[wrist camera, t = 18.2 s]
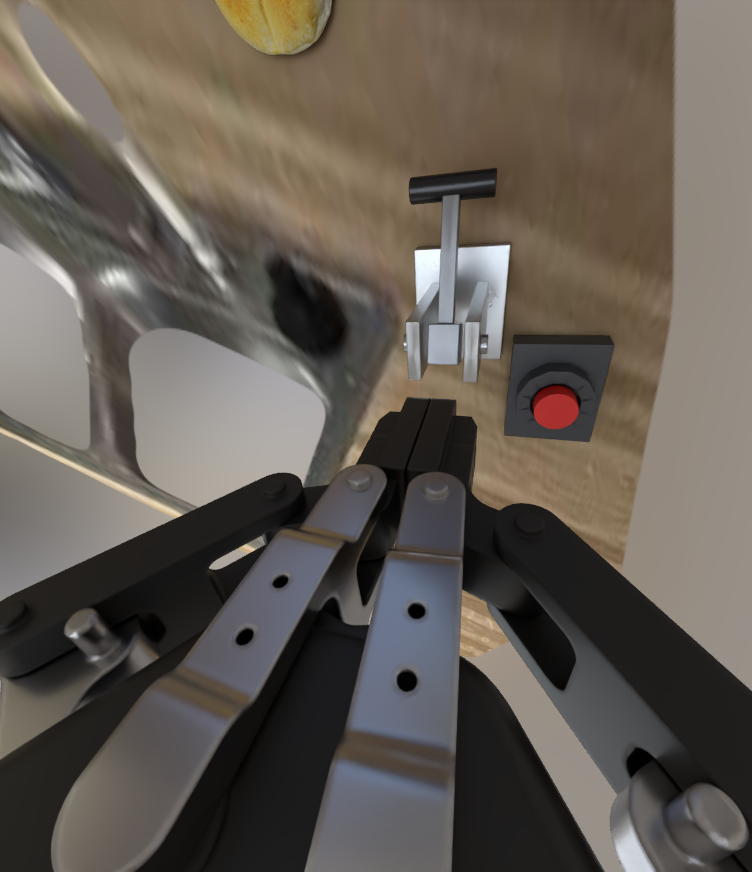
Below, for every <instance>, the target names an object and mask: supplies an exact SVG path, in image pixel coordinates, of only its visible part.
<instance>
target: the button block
mask: <svg viewBox="0 0 752 872" xmlns="http://www.w3.org/2000/svg"><path fill="white" fill-rule="evenodd" d="M613 349H614V343H613V342H612V340H611V338H610V336H557V335H514V339H513V349H512V358H511V368H510V377H509V387H508V396H507V406H506V415H505V425H504V435H506V436H519V437H531V438H544V439H557V440H570V441H582V442H589V441H590V438H591V434H592V430H593V426H594V422H595V418H596V414H597V411H598V407H599V403H600V399H601V395H602V391H603V387H604V384H605V380H606V376H607V372H608V368H609V364H610V360H611V357H612V353H613ZM553 385H561V386H565V387H567V388H569V389H571V390H572V391H573V392H574V394H575V396H576V399H577V403H578V407H579V413H578V416H577V418H576V419H575V421H574V422H573V423H572V424H570V425H568V426H567V427H564V428H560V429H549V428H546V427H543V426H542V425H540V424H539V423H538V422H537V421H536V419H535V417H534V409H533V401H534V398H535V396H536V395H537V393H538V392H539V391H541V390H542V389H544V388H546V387H548V386H553Z"/></svg>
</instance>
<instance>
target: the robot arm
mask: <svg viewBox="0 0 752 872" xmlns="http://www.w3.org/2000/svg"><path fill="white" fill-rule="evenodd" d="M476 439H477V425H476V424H475V422H474V420H473V419H472V417H468V416H456V400H451V399H433V398H432V400H431V399H430V398H413V397H407V399H406V401H405V403H404V405H403V408H402V410H401V412H391V411H390V412H389V413H388V414H386V415H385V416H384V417H382V418H381V419H380V420H379V422H378V423H377V425H376V427H375V429H374V431H373V433H372V435H371V437H370V439H369V441H368V442H367V444H366V446H365V448H364V450H363V452H362V454H361V456H360V458H359V460H358V462H357V463H356V465H353V466H349V467H347V468H345V469H343V470H342V471H340V472H339V473H338V474H337V475H336V476H335V478H334V479H333V480H332V482H331V483H330V484H329V485H324V486H315V487H307V488H303V486H302V482H301V480H300V479H299V478H298V477H297V476H296V475H294V474H291V473H276V474H272V475H269V476H266V477H264V478H261V479H259V480H257V481H255V482H253V483H251V484H249V485H247V486H245V487H242V488H240V489H238V490H236V491H234V492H231V493H229V494H227V495H225V496H223V497H221V498H219V499H217V500H214V501H212V502H210V503H208V504H206V505H204V506H201V507H199V508H197V509H195V510H193V511H191V512H189V513H186V514H184V515H182V516H180V517H178V518H176V519H174V520H171V521H169V522H167V523H165V524H163V525H161V526H158V527H156V528H154V529H152V530H150V531H148V532H146V533H143V534H141V535H139V536H137V537H135V538H133V539H131V540H129V541H126V542H124V543H122V544H120V545H118V546H116V547H113V548H111V549H109V550H107V551H105V552H103V553H101V554H98V555H96V556H94V557H92V558H90V559H88V560H86V561H83V562H81V563H79V564H77V565H75V566H73V567H71V568H68V569H66V570H64V571H62V572H60V573H58V574H55V575H53V576H51V577H49V578H47V579H45V580H43V581H41V582H38V583H36V584H34V585H32V586H30V587H28V588H25V589H24V590H21V591H19V592H17V593H15V594H13V595H11V596H9V597H7V598H5V599H4V600H2V601H0V680H1V692H0V872H605V871H604V870H603V868H602V866H601V865H600V863H599V861H598V859H597V857H596V856H595V854H594V852H593V850H592V849H591V847H590V845H589V843H588V842H587V840H586V838H585V836H584V835H583V833H582V831H581V829H580V828H579V826H578V824H577V822H576V821H575V819H574V817H573V815H572V814H571V812H570V810H569V808H568V807H567V805H566V803H565V802H564V800H563V798H562V796H561V794H560V793H559V791H558V789H557V787H556V786H555V784H554V782H553V780H552V779H551V777H550V775H549V773H548V772H547V770H546V769H545V766H544V765H543V763H542V761H541V760H540V758H539V756H538V754H537V752H536V751H535V749H534V747H533V745H532V744H531V742H530V740H529V738H528V737H527V735H526V733H525V731H524V730H523V728H522V726H521V724H520V723H519V721H518V719H517V717H516V716H515V714H514V712H513V711H512V709H511V707H510V706H509V704H508V702H507V701H506V700H505V698H504V697H503V695H502V694H501V693H500V691H499V690H498V689H497V687H496V686H495V685H494V684H493V683H492V682H491V681H490V680H489V679H488V677H486V675H485V674H484V673H482V672H481V671H480V670H479V669H478V668H477V667H476V666H475V665H473V664H472V663H470V662H469V661H467V660H466V659H465V658H463V657H462V656H460V629H461V603H462V590H464V591H466V592H468V593H470V594H472V595H474V596H476V597H478V598H480V599H482V600H483V601H485V602H486V603H487V607H488V610H489V612H490V613H491V615H492V617H493V618H494V619H495V621H496V622H497V624H498V625H499V627H500V628H501V629H502V631H503V632H504V634H505V635H506V637H507V638H508V639H509V641H510V642H511V644H512V645H513V647H514V648H515V649H516V651H517V652H518V653H519V655H520V657H521V658H522V659H523V661H524V662H525V664H526V665H527V667H528V668H529V669H530V671H531V672H532V674H533V675H534V676H535V678H536V679H537V681H538V682H539V684H540V685H541V687H542V688H543V689H544V691H545V692H546V694H547V695H548V697H549V698H550V699H551V701H552V702H553V704H554V705H555V707H556V708H557V709H558V711H559V712H560V714H561V715H562V717H563V718H564V719H565V721H566V722H567V724H568V725H569V726H570V728H571V729H572V731H573V732H574V734H575V735H576V737H577V738H578V739H579V741H580V742H581V744H582V745H583V747H584V748H585V749H586V751H587V752H588V754H589V755H590V757H591V758H592V759H593V761H594V762H595V764H596V765H597V767H598V768H599V769H600V771H601V772H602V774H603V775H604V777H605V778H606V779H607V781H608V782H609V784H610V785H611V787H612V788H613V789H614V791H615V792H616V794H617V797H616V798H615V800H614V802H613V804H612V807H611V813H610V831H611V837H612V841H613V844H614V848H615V851H616V854H617V856H618V859H619V861H620V863H621V865H622V867H623V869H624V871H625V872H752V691H751V690H750V689H749V688H748V687H746V686H745V685H744V684H743V683H742V682H741V681H740V680H739V679H737V678H736V677H735V676H734V675H733V674H732V673H731V672H730V671H729V670H727V669H726V668H725V667H724V666H723V665H722V664H720V663H719V662H718V661H717V660H716V659H715V658H714V657H713V656H712V655H711V654H710V653H708V652H707V651H706V650H705V649H704V648H703V647H702V646H701V645H699V644H698V643H697V642H696V641H695V640H694V639H693V638H692V637H691V636H689V635H688V634H687V633H686V632H685V631H684V630H683V629H681V628H680V627H679V626H678V625H677V624H676V623H675V622H674V621H673V620H672V619H670V618H669V617H668V616H667V615H666V614H665V613H664V612H663V611H661V610H660V609H659V608H658V607H657V606H656V605H655V604H654V603H653V602H651V601H650V600H649V599H648V598H647V597H646V596H645V595H644V594H642V593H641V592H640V591H639V590H638V589H637V588H636V587H635V586H634V585H632V584H631V583H630V582H629V581H628V580H627V579H626V578H625V577H623V576H622V575H621V574H620V573H619V572H618V571H617V570H616V569H615V568H613V567H612V566H611V565H610V564H609V563H608V562H607V561H606V560H605V559H603V558H602V557H601V556H600V555H599V554H598V553H597V552H596V551H594V550H593V549H592V548H591V547H590V546H589V545H588V544H587V543H586V542H584V541H583V540H582V539H581V538H580V537H579V536H578V535H577V534H575V533H574V532H573V531H572V530H571V529H570V528H569V527H568V526H567V525H565V524H564V523H563V522H562V521H561V520H560V519H559V518H558V517H556V516H555V515H554V514H553V513H551V512H550V511H548V510H547V509H544V508H542V507H540V506H536V505H532V504H525V503H518V504H512V505H509V506H506V507H504V508H503V509H501V510H500V511H499V510H497V509H494V508H491V507H489V506H487V505H485V504H483V503H482V502H480V501H479V500H478V499H477V498H476V497H475V496H474V495H473V494H472V492H471V491H472V484H473V476H474V469H475V456H476ZM260 536H262V537H263V540H264V543H265V545H264V546H262V547H260V548H258V549H257V550H255V551H253V552H251V553H249V554H247V555H246V556H244V557H242V558H240V559H238V560H237V561H235V562H233V563H231V564H229V565H228V566H226V567H224V568H221V569H218V570H212V569H209V566H210V565H211V564H212V563H213V562H214V561H215V560H217V559H219V558H220V557H222V556H224V555H226V554H228V553H230V552H232V551H233V550H235V549H237V548H239V547H241V546H243V545H245V544H247V543H248V542H250V541H252V540H254V539H256V538H258V537H260ZM395 541H396V542H395ZM394 544H395V546H394ZM373 607H374V608H373ZM372 609H373V612H372ZM371 612H372V617H371V621H370V625H368V622H369V618H370V614H371Z"/></svg>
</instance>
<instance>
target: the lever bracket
mask: <svg viewBox="0 0 752 872" xmlns="http://www.w3.org/2000/svg"><path fill="white" fill-rule="evenodd" d="M510 249H511V242H502V243H485V244H468V245H459V248H458V267H457V287H456V307H455V323H463V336H462V353H461V358H464V359H463V382H477V379H478V374H479V368H480V362H481V359H501V350H502V339H503V327H504V316H505V305H506V294H507V282H508V271H509V260H510ZM440 251H441V246H434V247H417V248H416V249H415V250H414V261H415V287H416V307H415V309H414V310H413V312H412V313H411V315H410V316H409V318H408V319H407V321H406V322H405V326H406V334H405V336H404V351H405V352H407V362H408V379H409V380H421V379H422V377H423V375H424V372H425V370H426V368H427V365H428V364H427V353H428V325H429V324H433V323H438V303H439V277H440Z"/></svg>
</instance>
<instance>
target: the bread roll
mask: <svg viewBox="0 0 752 872" xmlns="http://www.w3.org/2000/svg"><path fill="white" fill-rule="evenodd" d="M215 1H216V3H217V5H218V7H219V8H220V10H221V12H222V13H223V15H224V16H225V18H226V19H227V21H228V22H229V24H230V25H231V27H232V28H233V29H234V30H235V31H236V33H237V34H238V35H239V36H240V37H241V38H243V39H244V40H245V41H246V42H247V43H248V44H250V45H251V46H252V47H253V48H255V49H257V50H259V51H260V52H263V53H266V54H268V55H277V54H296V53H299V52H301V51H303V50H305V49H307V48H308V47H310V46H311V45H312V44H313V43H314V42H316V41H317V39H318V38H319V37H320V35H321V33H322V32H323V30H324V27H325V25H326V23H327V20H328V18H329V16H330V13H331V5H332V0H215Z"/></svg>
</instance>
